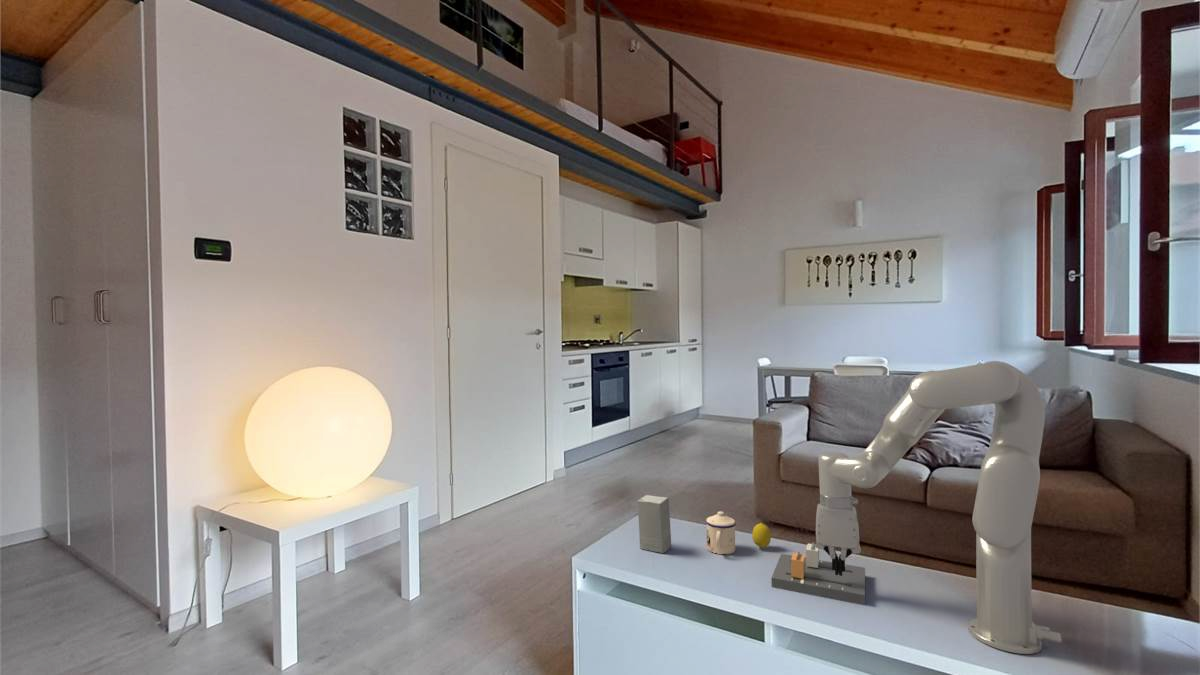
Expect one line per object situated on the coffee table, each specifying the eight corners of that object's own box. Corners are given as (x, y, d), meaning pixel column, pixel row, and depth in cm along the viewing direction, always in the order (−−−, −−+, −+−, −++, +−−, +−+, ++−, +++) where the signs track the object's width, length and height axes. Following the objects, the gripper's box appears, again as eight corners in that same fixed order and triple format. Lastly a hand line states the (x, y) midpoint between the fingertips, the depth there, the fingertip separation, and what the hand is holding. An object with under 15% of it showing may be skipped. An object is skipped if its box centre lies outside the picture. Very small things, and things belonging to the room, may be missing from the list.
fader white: (819, 561, 149) (819, 543, 150) (817, 567, 145) (817, 549, 145) (807, 559, 151) (807, 541, 151) (806, 565, 146) (806, 547, 146)
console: (865, 576, 146) (865, 567, 146) (864, 605, 130) (864, 594, 130) (781, 561, 156) (781, 553, 156) (771, 587, 140) (771, 577, 140)
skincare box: (671, 547, 167) (671, 497, 167) (661, 555, 161) (661, 502, 161) (647, 542, 172) (647, 493, 172) (637, 549, 166) (637, 498, 166)
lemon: (768, 545, 169) (768, 520, 169) (772, 552, 163) (772, 526, 163) (750, 544, 169) (750, 519, 169) (754, 551, 164) (754, 525, 164)
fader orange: (805, 571, 143) (805, 552, 143) (803, 578, 138) (803, 559, 138) (793, 569, 144) (793, 550, 144) (791, 576, 140) (791, 557, 140)
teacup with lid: (708, 542, 171) (707, 506, 171) (737, 546, 168) (736, 509, 168) (702, 556, 160) (702, 517, 160) (733, 560, 157) (733, 521, 157)
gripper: (868, 500, 137) (871, 572, 137) (806, 495, 144) (809, 563, 143) (868, 508, 131) (871, 584, 130) (803, 502, 137) (806, 574, 137)
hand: (838, 573), depth 137 cm, fingers closed
